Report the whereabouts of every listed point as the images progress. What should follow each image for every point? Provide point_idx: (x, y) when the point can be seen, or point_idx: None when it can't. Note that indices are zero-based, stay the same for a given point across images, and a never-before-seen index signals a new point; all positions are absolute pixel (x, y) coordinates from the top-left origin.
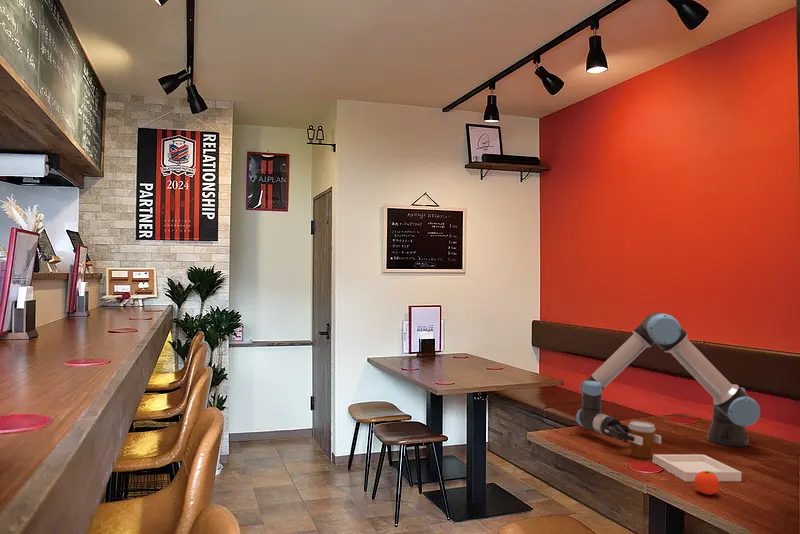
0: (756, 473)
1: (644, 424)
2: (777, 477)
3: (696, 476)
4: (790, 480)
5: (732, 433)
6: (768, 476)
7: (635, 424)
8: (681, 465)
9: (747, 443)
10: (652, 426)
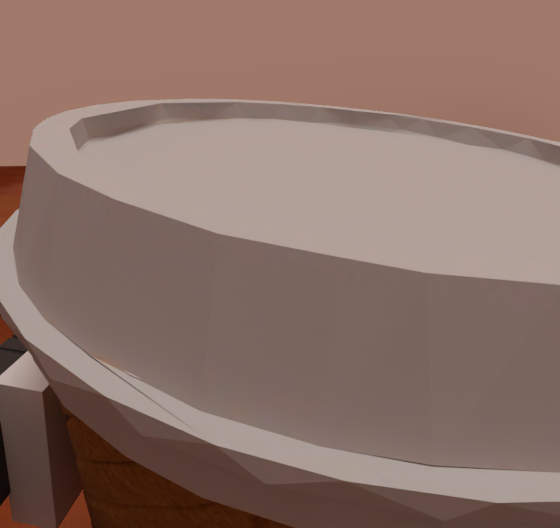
0: (4, 200)
1: (265, 159)
2: (7, 178)
3: None
4: (17, 167)
5: None
6: (19, 186)
7: (555, 215)
8: None
9: None
10: (323, 106)
